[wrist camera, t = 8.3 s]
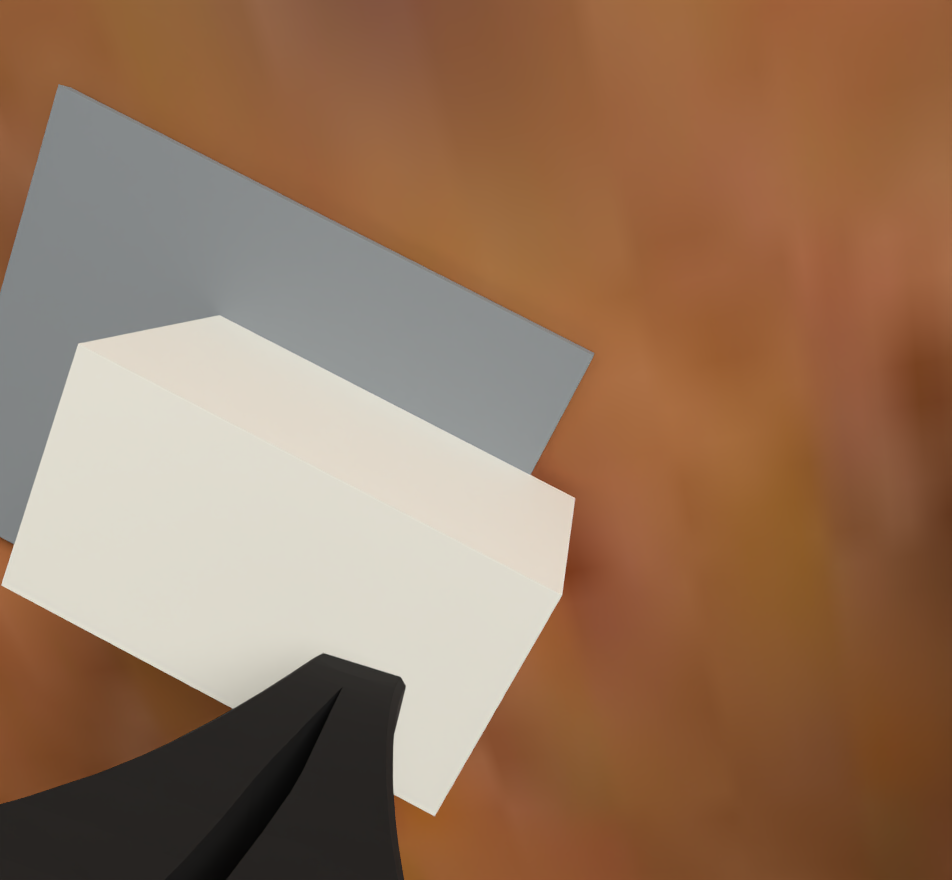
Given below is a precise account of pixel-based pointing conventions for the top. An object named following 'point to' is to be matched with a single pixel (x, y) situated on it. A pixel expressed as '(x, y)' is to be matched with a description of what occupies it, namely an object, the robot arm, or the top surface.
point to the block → (288, 534)
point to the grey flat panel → (245, 295)
